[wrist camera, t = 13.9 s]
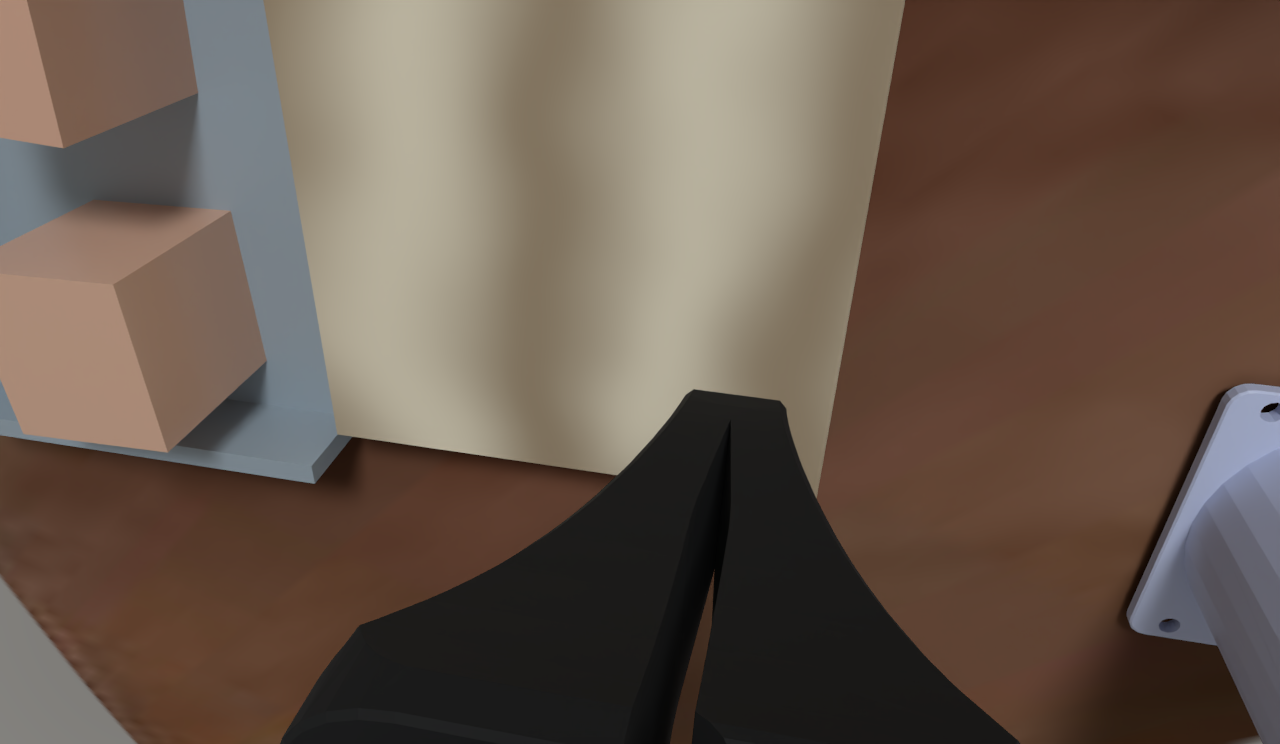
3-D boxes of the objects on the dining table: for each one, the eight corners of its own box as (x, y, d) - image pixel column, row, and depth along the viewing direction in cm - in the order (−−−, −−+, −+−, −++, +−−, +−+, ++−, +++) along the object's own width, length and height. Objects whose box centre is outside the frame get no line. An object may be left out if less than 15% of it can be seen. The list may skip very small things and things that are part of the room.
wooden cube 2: (112, 284, 20) (-47, 269, 20) (167, 452, 22) (23, 434, 22) (230, 210, 23) (93, 199, 24) (266, 360, 26) (140, 346, 26)
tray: (267, -216, 19) (177, -222, 16) (364, 422, 27) (314, 484, 24) (-225, -235, 20) (-377, -243, 18) (9, 371, 29) (-71, 424, 26)
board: (918, -129, 17) (927, -124, 16) (816, 458, 25) (815, 504, 23) (289, -159, 19) (236, -157, 17) (369, 395, 26) (337, 434, 25)
